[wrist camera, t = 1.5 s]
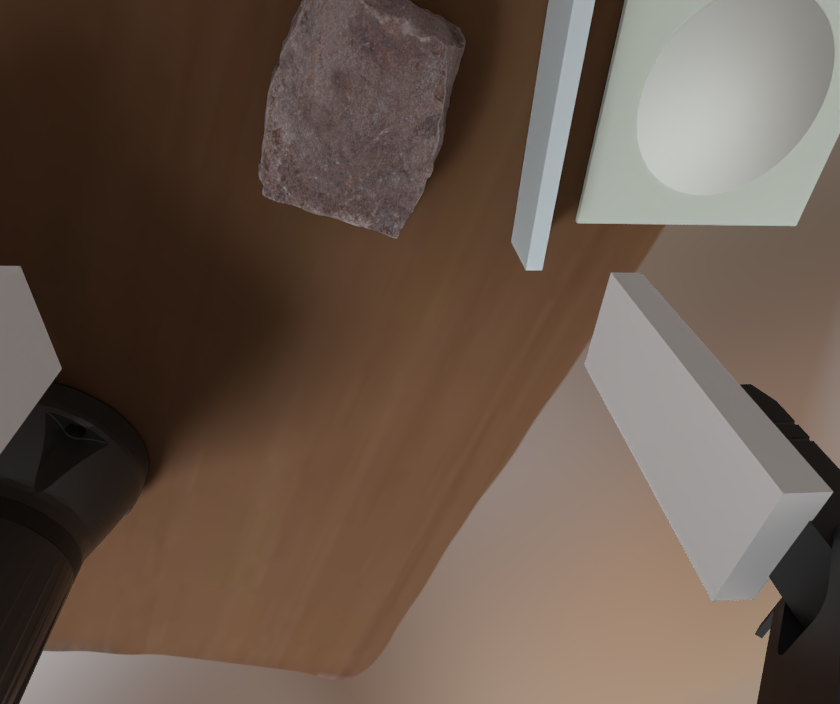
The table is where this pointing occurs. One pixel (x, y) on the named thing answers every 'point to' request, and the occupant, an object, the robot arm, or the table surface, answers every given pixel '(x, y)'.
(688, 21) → the rest mat
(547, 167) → the acrylic wall
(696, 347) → the robot arm
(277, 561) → the table surface
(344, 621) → the table surface
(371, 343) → the table surface
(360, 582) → the table surface
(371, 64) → the stone
